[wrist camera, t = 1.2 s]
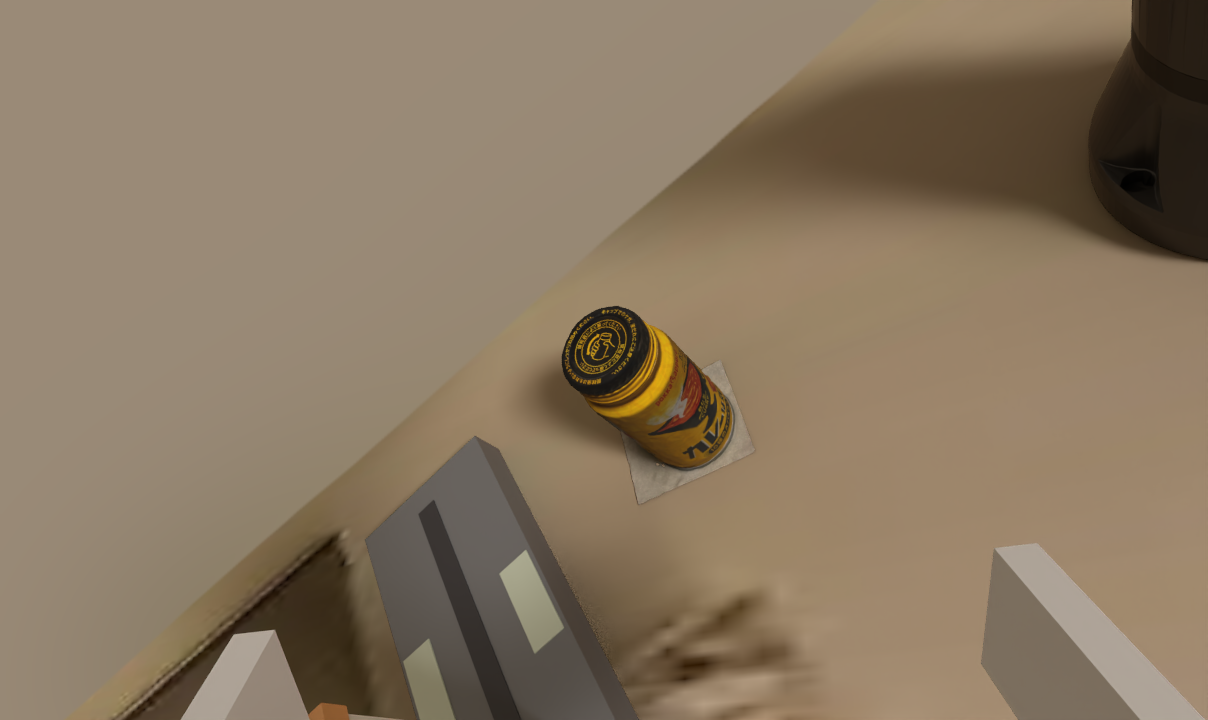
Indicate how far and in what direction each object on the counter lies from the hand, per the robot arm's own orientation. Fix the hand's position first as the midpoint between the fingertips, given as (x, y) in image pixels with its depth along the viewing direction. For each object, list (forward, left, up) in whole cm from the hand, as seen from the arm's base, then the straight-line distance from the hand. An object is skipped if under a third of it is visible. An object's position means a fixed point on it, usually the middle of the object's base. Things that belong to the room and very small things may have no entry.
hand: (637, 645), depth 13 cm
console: (+7, -23, -27) cm, 36 cm away
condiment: (-11, -18, -27) cm, 34 cm away
